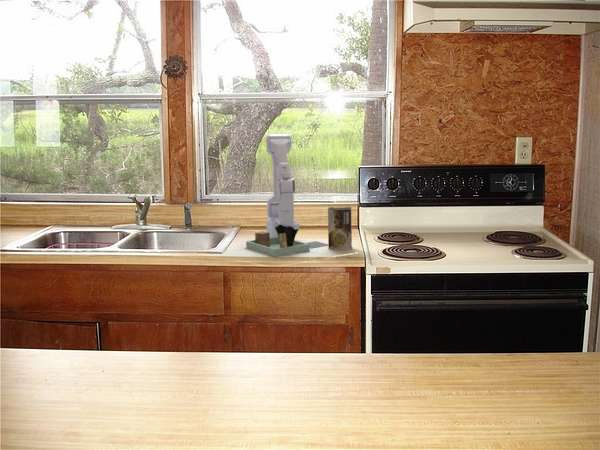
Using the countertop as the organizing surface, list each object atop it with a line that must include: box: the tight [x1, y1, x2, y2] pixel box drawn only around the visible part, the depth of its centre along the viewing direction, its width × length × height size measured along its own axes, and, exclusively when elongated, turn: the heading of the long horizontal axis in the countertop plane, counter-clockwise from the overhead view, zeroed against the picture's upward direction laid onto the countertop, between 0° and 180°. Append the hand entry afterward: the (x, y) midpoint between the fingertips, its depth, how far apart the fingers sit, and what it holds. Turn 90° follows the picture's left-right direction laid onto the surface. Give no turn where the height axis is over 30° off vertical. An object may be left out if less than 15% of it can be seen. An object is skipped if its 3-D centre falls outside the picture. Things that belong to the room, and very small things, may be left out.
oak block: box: [279, 233, 294, 248], centre depth 249 cm, size 4×4×6 cm
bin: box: [245, 236, 311, 258], centre depth 249 cm, size 20×16×3 cm
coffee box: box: [327, 206, 353, 250], centre depth 250 cm, size 9×6×16 cm
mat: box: [306, 240, 328, 249], centre depth 257 cm, size 10×10×1 cm
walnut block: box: [254, 230, 270, 247], centre depth 252 cm, size 4×4×6 cm
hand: (286, 245), depth 249 cm, fingers closed on oak block, 4 cm apart
